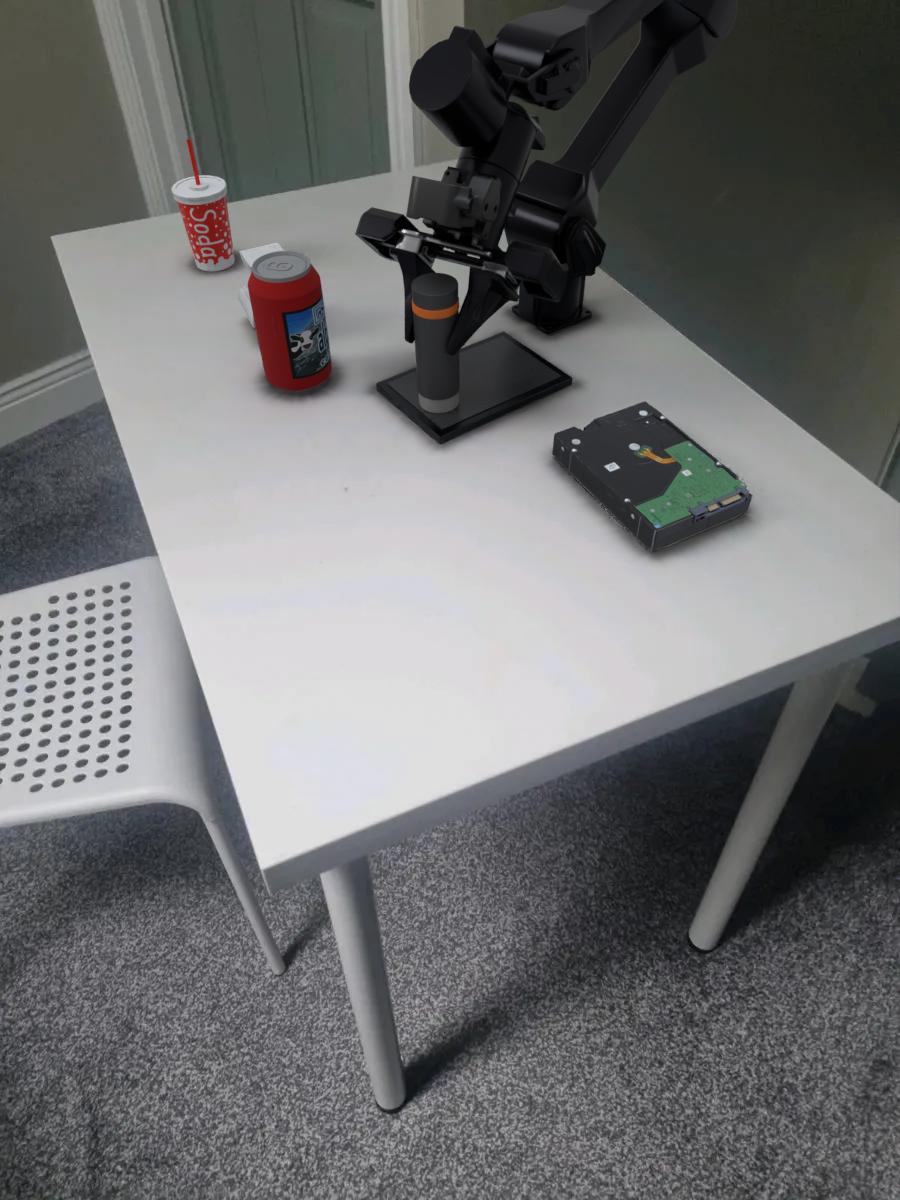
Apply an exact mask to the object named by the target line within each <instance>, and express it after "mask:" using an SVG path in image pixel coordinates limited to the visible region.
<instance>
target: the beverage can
mask: <svg viewBox="0 0 900 1200" xmlns="http://www.w3.org/2000/svg"><path fill="white" fill-rule="evenodd" d="M247 287H248V291H249V296H250V302H251V307H252V312H253V317H254V323H255V328H256V330H255V331H256V336H257V342H258V347H259V352H260V357H261V363H262V367H263V371H264V375H265V378H266V380H267V381H268V383H269V384H270V385H272V386H273V387H276V388H278V389H280V390H285V391H288V392H304V391H309V390H311V389H314V388H317V387H318V386H319V385H321V384H323V383H324V382H325V381H327V380H328V379H329V377H330V376H331V374H332V372H333V364H332V356H331V347H330V340H329V339H330V338H329V330H328V323H327V316H326V315H327V314H326V309H325V308H326V307H325V301H324V295H323V294H324V293H323V289H322V281H321V276H320V273H319V272H318V271H317V269H316V268H315V267H314V265H313V264H312V262H311V259H310V258H309V256H308V255H306V254H304V253H302V252H300V251H294V250H284V251H276V252H271V253H268V254H265V255H263V256H261V257H259V258H257V259H256V260H255V261H254V262H253V264H252V272H251V273H250V275H249V278H248V281H247Z"/></svg>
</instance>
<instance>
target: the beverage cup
mask: <svg viewBox="0 0 900 1200" xmlns="http://www.w3.org/2000/svg"><path fill="white" fill-rule="evenodd" d="M185 140H186V144H187V149H188V154H189V158H190V163H191V167H192V172H193V176H189V177H186V178H182V179H179V180H177V182H175V183H174V184H172V187H171V189H170V190H171V193H172V197H173V199H174V201H176V203H177V205H178V209H179V212H180V216H181V219H182V222H183V226H184V228H185V232H186V236H187V238H188V242H189V245H190V249H191V251H192V254H193V259H194V262H195V265H196V267H197V269H198V270H200V271H205V272H219V271H223V270H226V269H228V268H231V267H232V266H233V265H234V264H235V260H236V258H235V252H234V244H233V243H234V242H233V237H232V230H231V223H230V215H229V208H228V201H227V193H228V189H227V187H228V186H227V182H226V181H225V179H223V178H221V177H220V176H216V175H211V174H210V175H209V174H207V175H204V174H203V175H202V174H201V175H199V171H198V166H197V161H196V157H195V152H194V147H193V143H192V139H191V138H190V137H189V138H186V139H185Z"/></svg>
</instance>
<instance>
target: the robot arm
mask: <svg viewBox="0 0 900 1200" xmlns="http://www.w3.org/2000/svg"><path fill="white" fill-rule="evenodd" d="M737 14H738V0H569V1H568V2H566V3H565V4H564V5H561V6H559V7H557V8H554V9H548V10H547V9H546V10H540V11H535V12H534V11H533V12H530V13H527V14H525V15H523V16H520V17H518V18H516V19H513V20H511V21H509V22H507V23H505V24H504V26H502V27H501V28H500V29H499V31H498V32H497V34H496V35H495V37H494V38H493V39H492V40H491V41H489V42H488V43H486V44H485V45H484V42H483V39H482V38H481V36H480V35H479V33H478V32H477V31H476V30H475V29H473V28H469V27H465V26H461V25H454V26H453V28H452V30H451V32H450V35H449V37H448V38H446V39H443V40H441V41H438V42H437V43H435V44H433V45H431V47H429V48H428V49H427V50H426V51H425V52H424V53H423V54H422V56H421V57H420V58H418V59H416V61H415V62H414V65H413V66H412V69H411V72H410V76H409V81H408V89H409V90H408V91H409V94H410V96H409V97H410V99H411V102H413V104H414V105H415V107H417V108H418V110H420V111H421V113H422V114H423V115H424V116H425V117H426V118H427V119H428V120H429V121H430V122H431V123H432V124H433V125H434V126H435V127H436V129H438V130H439V131H440V132H441V133H442V135H443V136H444V137H445V138H446V139H447V140H448V141H449V142H450V143H451V144H452V145H454V146H456V147H459V148H461V150H460V152H459V153H460V154H459V156H458V159H457V162H456V165H455V167H453V166H450V165H449V166H447V168H446V169H445V171H444V172H443V175H442V177H441V180H435V179H431V178H427V177H422V176H421V177H420V176H416V175H412V176H411V182H410V187H409V195H408V201H407V209H406V214H404V213H399V212H394V211H392V210H391V211H390V210H386V209H381V208H377V207H372V206H371V207H369V208H368V209H367V210H366V211H364V212H363V213H362V215H360V218H359V221H358V224H357V227H356V230H355V232H354V235H355V236H356V237H357V238H358V239H360V240H361V241H362V242H363V243H364V244H365V245H367V246H368V247H369V248H370V249H371V250H372V251H373V252H375V253H376V255H378V256H379V257H381V258H383V259H385V260H388V261H391V262H396V263H398V264H399V267H400V270H401V275H402V282H403V283H402V284H403V292H404V294H403V295H404V341H405V342H407V343H408V344H410V345H411V344H414V343H415V338H414V320H413V309H412V282H413V280H414V279H416V278H417V277H419V276H421V275H424V274H428V273H437V272H436V271H435V270H434V269H433V266H434V264H435V261H436V259H437V260H439V261H444V262H448V263H452V264H455V265H460V266H464V267H468V268H469V272H468V282H467V283H468V285H467V291H466V294H465V296H464V299H463V301H462V303H461V304H462V305H461V306H460V308H459V314H458V317H457V319H456V322H455V325H454V327H453V330H452V332H451V335H450V339H449V343H448V347H447V353H448V354H450V355H452V356H454V355H455V354H456V353H457V352H458V351H459V350H460V349H461V348H463V346H464V345H466V344H467V342H468V341H469V340H470V339H471V338H472V337H473V336H474V335H475V334H476V332H477V331H478V330H479V329H480V328H481V327H482V326H483V325H484V324H485V323H486V322H487V321H488V320H489V319H490V318H491V317H493V316H494V315H495V314H496V313H497V312H498V311H499V310H501V309H502V307H504V306H505V305H506V304H507V303H508V302H515V303H517V302H518V303H517V304H514V305H512V306H511V313H513V314H514V315H516V316H517V317H519V318H520V319H522V320H523V321H525V322H527V324H529V325H531V326H532V327H534V328H535V329H537V330H539V331H540V332H541V333H543V334H545V335H553V334H555V333H557V332H560V331H562V330H565V329H568V328H569V327H572V326H574V325H576V324H579V323H582V322H584V321H586V320H588V319H591V318H592V317H593V311H592V310H591V309H589V308H587V307H585V306H584V299H585V288H586V277H592V276H594V275H595V274H596V268H598V267H599V266H600V265H601V264H602V262H603V259H604V255H605V251H606V247H607V242H605V241H606V240H604V239H603V238H602V236H601V235H600V234H599V232H598V231H597V230H596V229H595V227H596V226H597V225H598V217H599V213H598V212H599V194H600V192H601V191H602V188H603V187H604V185H605V184H606V182H607V181H608V180H609V178H610V177H611V175H612V174H613V172H614V170H615V169H616V167H617V166H618V164H619V163H620V162H621V160H622V158H623V157H624V156H625V154H626V152H627V151H628V150H629V148H630V146H631V145H632V143H634V140H635V139H636V138H637V136H638V135H639V133H640V132H641V130H642V129H643V127H644V126H645V124H646V123H647V121H648V120H649V118H650V117H651V115H652V114H653V112H654V110H655V109H656V108H657V106H658V105H659V103H660V102H661V100H662V99H663V97H664V96H665V94H666V93H667V91H668V89H669V88H670V87H671V86H672V84H673V83H674V81H675V79H676V78H678V76H680V75H682V74H684V73H686V72H688V71H689V70H692V69H693V68H695V67H697V66H700V65H702V64H703V63H705V62H706V61H707V60H708V59H709V57H710V56H711V55H712V54H713V53H714V51H716V50H717V48H718V47H719V46H720V45H721V43H723V41H724V39H725V38H726V37H727V36H728V35H729V33H730V32H731V30H732V29H733V26H734V24H735V21H736V18H737ZM638 23H639V39H638V43H637V45H636V46H635V48H634V49H633V51H632V52H631V54H630V55H629V57H628V58H627V59H626V61H625V63H624V64H623V65H622V67H621V69H620V70H619V71H618V73H617V75H616V76H615V78H614V79H613V80H612V82H611V83H610V85H609V86H608V88H607V89H606V91H605V92H604V93H603V95H602V97H601V98H600V100H599V101H598V103H596V106H595V107H594V109H593V110H592V112H591V113H590V115H589V116H588V117H587V119H586V121H585V122H584V124H583V125H582V126H581V128H580V129H579V131H578V132H577V134H576V136H575V137H574V139H573V140H572V142H571V143H570V144H569V146H568V147H567V149H566V150H565V152H564V153H563V155H562V156H561V157H560V159H558V160H557V161H555V162H552V163H551V162H549V161H545V160H541V159H539V158H537V159H535V160H534V161H533V162H532V163H531V164H530V165H529V166H528V168H527V170H526V172H525V168H526V166H527V163H528V161H529V158H530V154H531V151H532V150H533V151H544V150H546V149H545V148H546V137H545V134H544V131H542V128H541V123H540V122H541V121H540V117H539V116H538V115H532V114H531V115H530V114H529V112H528V111H527V110H526V109H525V108H524V107H523V106H522V105H521V104H519V103H517V102H521V103H525V104H528V105H531V106H535V107H539V108H543V109H545V110H550V111H553V112H554V111H555V112H556V111H559V110H561V109H564V108H565V107H566V106H567V105H568V104H569V102H571V100H572V99H573V98H574V97H575V96H576V95H577V93H579V91H580V90H582V88H583V87H584V86H585V85H586V83H587V82H588V81H589V78H590V72H591V65H592V62H593V61H594V60H595V59H596V58H597V57H598V56H599V55H600V54H601V53H602V52H604V51H605V50H606V49H607V48H609V47H610V46H611V45H612V44H614V42H616V41H618V39H619V38H621V37H622V36H623V35H624V34H626V33H628V31H629V30H631V29H632V28H633V27H634V26H636V25H637V24H638ZM509 100H514V101H509ZM515 101H517V102H515ZM524 172H525V174H524ZM523 175H524V176H523ZM410 219H412V220H419V219H422V224H423V225H424V226H425V227H426V228H428V229H432V231H433V233H429V232H424V231H421V230H419V229H418V228H417V227H416V226H415V224H413V223H412V221H411V220H410ZM503 232H504V235H505V238H506V243H507V247H506V250H505V251H504V250H502V249H501V247H500V246H499V245H500V241H501V238H502V235H503ZM445 249H446V250H445ZM450 250H451V251H450ZM518 291H519V292H518Z"/></svg>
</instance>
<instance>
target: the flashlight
mask: <svg viewBox="0 0 900 1200" xmlns="http://www.w3.org/2000/svg"><path fill="white" fill-rule="evenodd" d="M412 309H413V320H414V338H415V340H414V351H415V352H414V353H415V367H416V373H417V389H418V392H419V404H420V406H421V407H422V408H423V409H424V410H426V411H428V412H432V413H445V412H449V411H451V410H453V409H454V408H456V407H457V405H458V403H459V389H460V368H459V351H458V352H457V353H456V354H455V355H454V356H452V355H450V354H448V353H447V347H448V343H449V339H450V335H451V332H452V330H453V327H454V325H455V322H456V319H457V317H458V314H459V312H460V297H459V282H458V280H457V278H456V277H454V276H453V275H451V274H448V273H443V272H436V273H428V274H424V275H421V276H419V277H417V278H416V279H414V280H413V282H412Z"/></svg>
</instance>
